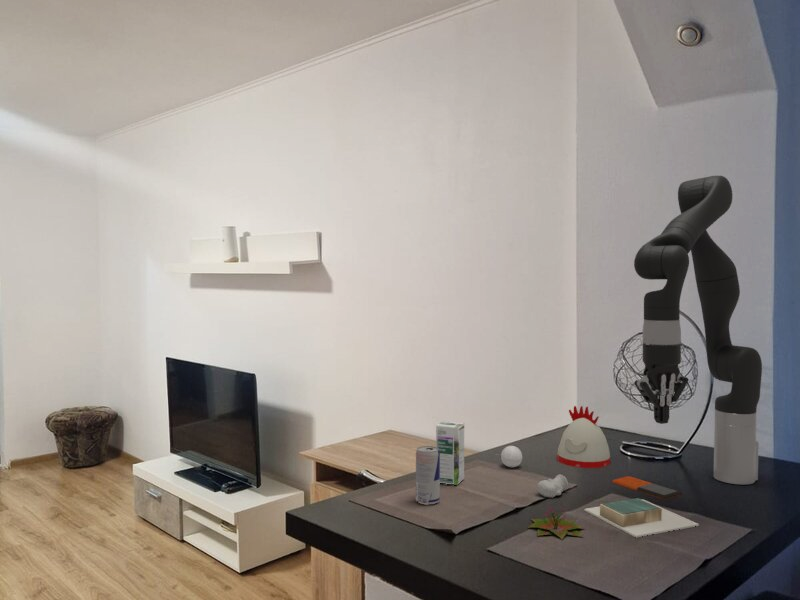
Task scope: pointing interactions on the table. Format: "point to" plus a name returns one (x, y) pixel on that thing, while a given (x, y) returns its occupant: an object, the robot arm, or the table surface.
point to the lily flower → (556, 525)
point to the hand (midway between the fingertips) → (661, 422)
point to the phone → (647, 487)
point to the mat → (650, 523)
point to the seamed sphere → (511, 456)
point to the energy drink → (428, 474)
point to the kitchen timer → (583, 442)
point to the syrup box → (451, 451)
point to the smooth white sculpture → (552, 486)
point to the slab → (630, 512)
